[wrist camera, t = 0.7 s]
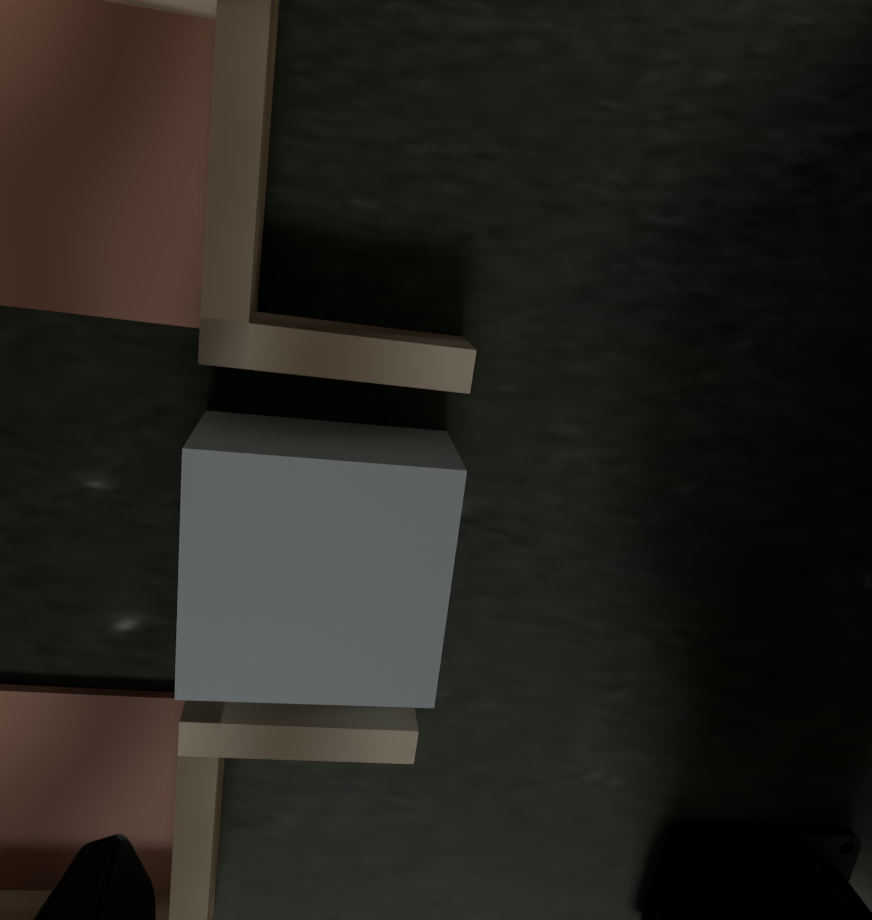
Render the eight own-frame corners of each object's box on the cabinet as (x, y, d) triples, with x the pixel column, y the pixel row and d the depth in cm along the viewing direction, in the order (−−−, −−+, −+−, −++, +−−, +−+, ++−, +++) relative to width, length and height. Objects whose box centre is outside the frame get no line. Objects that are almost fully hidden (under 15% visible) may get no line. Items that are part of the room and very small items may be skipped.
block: (445, 428, 21) (467, 470, 17) (418, 634, 22) (433, 708, 19) (207, 408, 20) (182, 448, 16) (198, 624, 21) (174, 700, 18)
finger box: (508, 24, 18) (541, -12, 15) (378, 910, 25) (384, 1001, 22) (-394, -144, 15) (-565, -227, 12) (-251, 908, 22) (-337, 1012, 19)
